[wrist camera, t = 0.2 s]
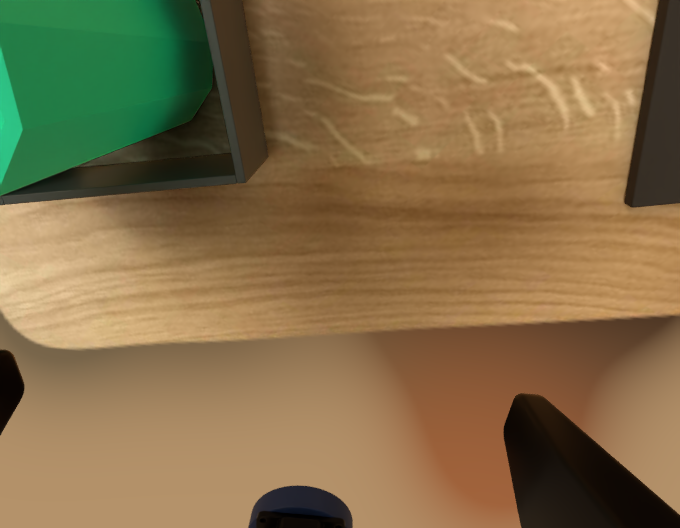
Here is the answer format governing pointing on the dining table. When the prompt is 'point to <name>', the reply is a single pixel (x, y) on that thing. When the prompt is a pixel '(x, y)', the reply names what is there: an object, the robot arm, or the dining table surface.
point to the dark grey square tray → (189, 172)
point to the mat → (659, 118)
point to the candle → (94, 79)
